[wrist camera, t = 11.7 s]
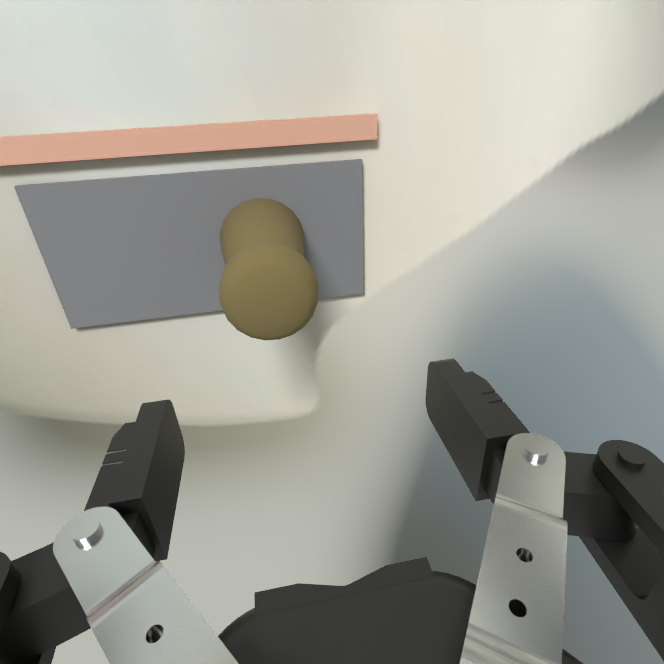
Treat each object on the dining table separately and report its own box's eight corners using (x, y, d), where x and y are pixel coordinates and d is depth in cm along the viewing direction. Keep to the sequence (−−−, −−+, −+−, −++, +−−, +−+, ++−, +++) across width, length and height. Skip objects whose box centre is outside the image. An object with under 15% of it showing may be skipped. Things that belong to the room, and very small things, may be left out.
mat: (361, 159, 29) (362, 159, 29) (362, 291, 34) (363, 293, 34) (17, 185, 26) (14, 186, 26) (73, 325, 31) (71, 328, 31)
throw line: (375, 113, 28) (377, 113, 27) (375, 138, 29) (377, 139, 28) (-21, 138, 25) (-27, 139, 24) (-10, 165, 26) (-15, 166, 25)
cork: (282, 292, 33) (298, 372, 23) (206, 260, 30) (189, 334, 21) (319, 221, 30) (352, 277, 21) (239, 181, 28) (237, 224, 19)
